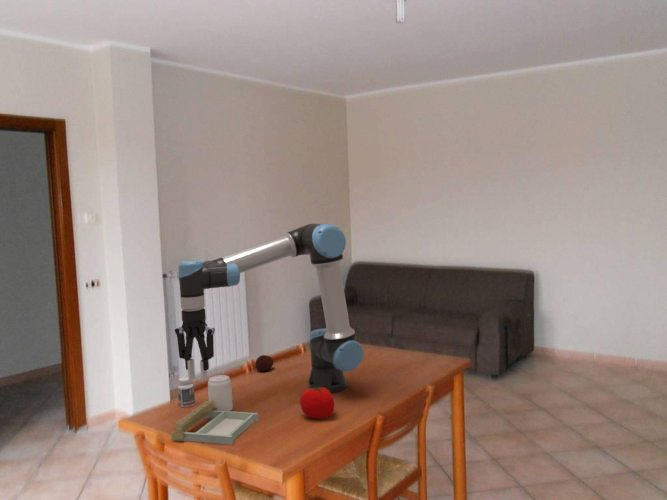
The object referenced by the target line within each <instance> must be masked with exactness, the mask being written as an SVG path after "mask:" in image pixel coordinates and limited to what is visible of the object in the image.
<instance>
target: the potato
mask: <svg viewBox="0 0 667 500" xmlns="http://www.w3.org/2000/svg"><path fill="white" fill-rule="evenodd" d="M273 365H274V359H273V358H272V357H271V356H270V355H266V354H265V355H264V354H263V355H260V356H258V357H257V358H256V360H255V368H256V369H257V371H259V372H266V371H268V370H270V369H271V368H272V367H273Z"/></svg>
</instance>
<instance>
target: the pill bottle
mask: <svg viewBox="0 0 667 500" xmlns="http://www.w3.org/2000/svg"><path fill="white" fill-rule="evenodd" d="M178 383H179V384H178V386H177V394H178V405H179V407H180V408H190V407H192V406H194V405H195V404H196V399H195V385H194V384H193V380H191V381H189V377H188V376H182V377H179V378H178Z"/></svg>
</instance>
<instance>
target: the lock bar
mask: <svg viewBox="0 0 667 500" xmlns="http://www.w3.org/2000/svg"><path fill="white" fill-rule="evenodd" d="M213 410H216V411H217V407H214V401H209V399H208V400H205V401H204V402H202V403H201V404H200V405H199V406H197V407H195V408H194V409H193V410H191V411H190V412H189V413H187V414H186V415H185V416H183V417H181V418H180V419H179V420H177V421H175V422H174V430H173V432H172V431H171V432H172V438H179V439H184V438H185V435H184V432H187V431H188V430H189V429H190V428H192V426H194V425H196V423H198V422H199V421H201V420H202V419H204V418H203V417H205V416H206V415H207V414H209V413H210V412H211V411H213Z"/></svg>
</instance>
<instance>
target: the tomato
mask: <svg viewBox="0 0 667 500" xmlns="http://www.w3.org/2000/svg"><path fill="white" fill-rule="evenodd" d="M299 405H300V407H301V411H302V413H303V414H304V416H306V417H308V418H310V419H311V418H312V419H315V420H316V419H318V420H319V419H321V420H323V419H327V418H330V417H331V416H332V415H333V413H334V411H335V401H334V397H333V394H332V393H330V391H329V390H328V389H326V388H320V387H316V388H310V389H308V388H307V389H304V390H303V391H302V393H301V394H300V398H299Z"/></svg>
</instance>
